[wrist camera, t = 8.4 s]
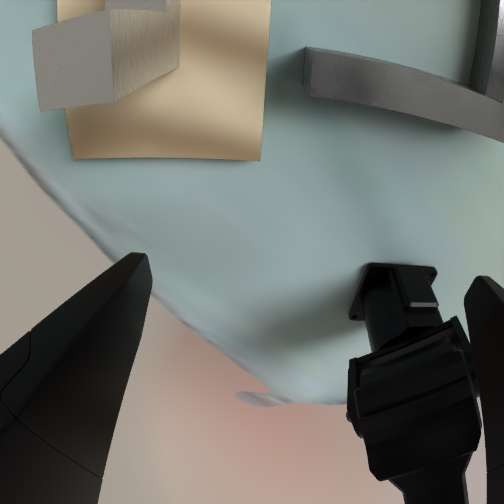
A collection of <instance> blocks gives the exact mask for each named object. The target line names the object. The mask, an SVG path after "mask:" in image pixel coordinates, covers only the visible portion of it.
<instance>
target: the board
mask: <svg viewBox="0 0 504 504" xmlns="http://www.w3.org/2000/svg"><path fill="white" fill-rule="evenodd" d="M104 10H105V0H57V21H58V22H60V21H63V20H67V19H70V18H74V17H78V16H82V15H86V14H90V13H95V12H99V11H104ZM270 11H271V0H181V13H180V66H179V67H177V68H175V69H173V70H171V71H169V72H167V73H165V74H163V75H161V76H160V77H158V78H156V79H154V80H152V81H150V82H148V83H146V84H145V85H143V86H141V87H139V88H137V89H136V90H134V91H132V92H130V93H129V94H127V95H125V96H124V97H122V98H120V99H119V100H117V101H115V102H110V103H100V104H91V105H83V106H75V107H68V108H65V114H66V120H67V127H68V133H69V139H70V144H71V150H72V155H73V159H94V158H134V157H166V158H208V159H230V160H247V161H260V155H261V141H262V126H263V112H264V98H265V83H266V69H267V54H268V40H269V25H270Z"/></svg>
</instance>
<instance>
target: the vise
mask: <svg viewBox="0 0 504 504" xmlns="http://www.w3.org/2000/svg"><path fill="white" fill-rule="evenodd" d="M302 84H303V86H304V88H305V90H306V91H307V93H308V95H309V96H311V97H319V98H326V99H333V100H340V101H346V102H352V103H358V104H364V105H369V106H374V107H379V108H384V109H389V110H394V111H398V112H403V113H407V114H411V115H415V116H419V117H423V118H427V119H431V120H435V121H438V122H442V123H445V124H449V125H452V126H456V127H459V128H462V129H465V130H468V131H471V132H475V133H478V134H480V135H483V136H486V137H489V138H492V139H495V140H497V141H500V142H503V143H504V103H503V99H504V0H481V11H480V21H479V29H478V37H477V44H476V50H475V56H474V62H473V67H472V73H471V78H470V83H469V87H468V86H465V85H462V84H460V83H457V82H454V81H451V80H449V79H446V78H443V77H440V76H437V75H434V74H430V73H427V72H424V71H421V70H417V69H414V68H410V67H407V66H403V65H399V64H395V63H391V62H387V61H383V60H379V59H374V58H370V57H365V56H360V55H355V54H350V53H345V52H339V51H333V50H327V49H320V48H312V47H306V49H305V60H304V70H303V80H302Z"/></svg>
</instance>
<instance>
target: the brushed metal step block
mask: <svg viewBox="0 0 504 504" xmlns="http://www.w3.org/2000/svg"><path fill="white" fill-rule="evenodd" d="M180 13H181V0H105V10H104V11H99V12H95V13H90V14H86V15H82V16H78V17H74V18H70V19H67V20H63V21H60V22H56V23H53V24H50V25H47V26H44V27H40V28H38V29H35V30H32V44H33V58H34V69H35V79H36V87H37V95H38V102H39V108H40V112H43V111H48V110H55V109H61V108H68V107H75V106H83V105H91V104H100V103H110V102H115V101H117V100H119V99H120V98H122V97H124V96H125V95H127V94H129V93H130V92H132V91H134V90H136V89H137V88H139V87H141V86H143V85H145V84H146V83H148V82H150V81H152V80H154V79H156V78H158V77H160V76H161V75H163V74H165V73H167V72H169V71H171V70H173V69H175V68H177V67H179V66H180Z"/></svg>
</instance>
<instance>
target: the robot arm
mask: <svg viewBox="0 0 504 504" xmlns="http://www.w3.org/2000/svg"><path fill="white" fill-rule="evenodd" d="M372 269H374V270H372ZM436 276H437V270H436V268H435V267H426V266H411V265H397V264H382V263H371V264H369V265H368V266H367V268H366V270H365V273H364V276H363V278H362V281H361V284H360V286H359V289H358V291H357V294H356V297H355V299H354V302H353V304H352V307H351V309H350V311H349V319H350V320H357V321H365V323H366V327H367V332H368V337H369V341H370V346H371V351H372V353H370V354H367V355H364V356H362V357H359V358H356V357H355V358H353V359H350V360H349V369H348V393H347V413H346V417H347V420H348V421H349V422H351V423H352V425H353V427H354V430H355V432H356V434H357V435H358V436H359V437H360V438H363V439H364V442H365V446H366V451H367V456H368V464H369V470H370V471H371V473H372V474H373V475H374V476H375V477H376V479H377V480H379V481H384V480H389V481H390V482H391V483H392V484H393V485H395V486H396V487H397V488H398V489H399V490H400V491H402V493H403V496H404V501H405V504H469V501H468V492H467V485H466V478H465V471H466V469H467V466H468V464H469V462H470V459H471V456H472V454H473V452H474V451H476V450H477V447H478V444H479V440H480V436H481V428H482V422H481V417H480V412H479V407H478V403H477V399H476V398H477V397H480V401H481V408H482V416H483V425H484V435H485V448H486V465H487V504H504V288H502V287H501V286H500V285H499V284H498V283H497V282H495V281H494V280H493V279H492V278H490V277H489V276H477V277H476V278H475V279H474V281H473V282H472V284H471V286H470V288H469V289H468V291H467V293H466V295H465V297H464V307H465V313H466V319H467V325H468V331H469V338H470V343H469V340H468V338H467V336H466V334H465V332H464V330H463V328H462V325H461V323H460V321H459V319H458V317H457V315H456V316H454V317H452V318H450V320H448V321H446V322H444V323H443V320H442V318H441V315H440V312H439V310H438V305H439V304H438V301H437V299H436V297H435V294H434V292H433V290H432V287H431V285H432V283H433V281H434V280H435V278H436ZM152 282H153V280H152V274H151V269H150V265H149V260H148V256H147V255H146V254H145V253H137V252H131V253H129V254H128V255H126V256H125V257H124V258H122V259H121V260H119V261H118V262H117V263H115V264H114V265H113V266H111V267H110V268H109V269H107V270H106V271H105V272H103V273H102V274H101V275H99V276H98V277H97V278H95V279H94V280H93V281H91V282H90V283H89V284H87V285H86V286H85V287H83V288H82V289H81V290H80V291H79V292H77V293H76V294H74V295H73V296H72V297H71V298H69V299H68V300H67V301H65V302H64V303H63V304H62V305H60V306H59V307H58V308H57V309H56V310H54V311H53V312H52V313H50V314H49V315H48V316H47V317H46V318H44V319H43V320H42V321H41V322H39V323H38V324H37V325H36V326H35V327H33V328H32V329H31V331H29V332H27V333H26V334H25V335H24V336H22V337H21V338H20V339H19V340H18V341H17V342H15V343H14V344H13V345H12V346H11V347H9V348H8V349H7V350H6V351H4V352H3V353H2V354H0V504H98V499H99V494H100V489H101V484H102V480H103V479H102V478H103V475H104V470H105V466H106V461H107V457H108V453H109V449H110V445H111V441H112V437H113V433H114V429H115V425H116V421H117V418H118V414H119V411H120V407H121V403H122V400H123V396H124V393H125V389H126V386H127V382H128V379H129V375H130V372H131V369H132V365H133V362H134V359H135V355H136V353H137V350H138V346H139V343H140V340H141V336H142V331H143V327H144V322H145V317H146V312H147V307H148V302H149V298H150V294H151V289H152Z"/></svg>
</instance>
